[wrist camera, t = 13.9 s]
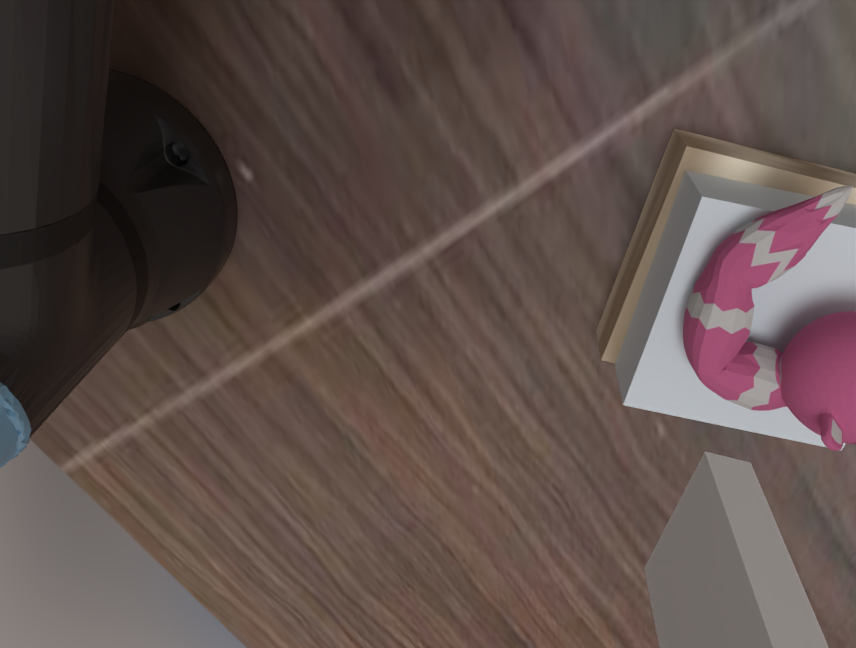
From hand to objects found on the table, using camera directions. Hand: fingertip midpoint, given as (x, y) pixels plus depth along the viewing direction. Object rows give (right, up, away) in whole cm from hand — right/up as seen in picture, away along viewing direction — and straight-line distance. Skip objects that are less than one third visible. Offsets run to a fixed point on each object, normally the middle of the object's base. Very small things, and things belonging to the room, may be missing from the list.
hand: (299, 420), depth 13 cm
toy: (+20, +3, +24) cm, 32 cm away
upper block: (+20, +3, +28) cm, 35 cm away
